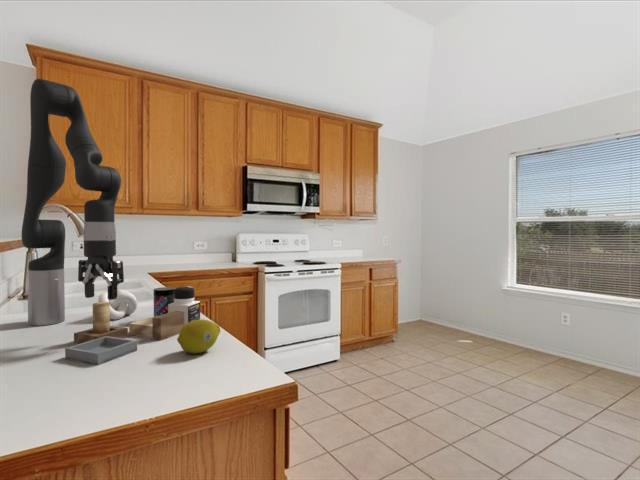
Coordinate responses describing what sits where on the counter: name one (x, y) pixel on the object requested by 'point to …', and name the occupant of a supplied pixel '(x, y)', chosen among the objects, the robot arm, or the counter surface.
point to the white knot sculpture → (120, 304)
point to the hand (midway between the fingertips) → (100, 298)
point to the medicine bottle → (185, 304)
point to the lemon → (198, 336)
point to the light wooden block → (142, 327)
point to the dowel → (101, 317)
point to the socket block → (89, 335)
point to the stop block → (167, 325)
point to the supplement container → (162, 300)
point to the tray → (100, 350)
